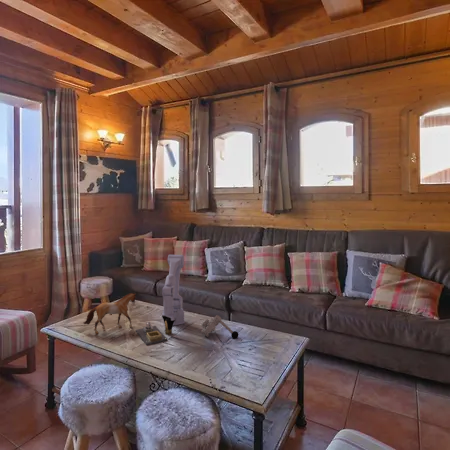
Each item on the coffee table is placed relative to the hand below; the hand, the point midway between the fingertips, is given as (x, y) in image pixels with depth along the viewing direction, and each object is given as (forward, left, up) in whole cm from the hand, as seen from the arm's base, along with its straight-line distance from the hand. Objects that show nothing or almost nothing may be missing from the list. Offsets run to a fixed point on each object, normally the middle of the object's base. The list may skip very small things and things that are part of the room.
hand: (168, 328), depth 191 cm
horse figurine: (+28, -25, -3) cm, 38 cm away
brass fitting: (0, 0, -3) cm, 3 cm away
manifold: (+10, -2, -3) cm, 11 cm away
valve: (-25, +18, -4) cm, 31 cm away
